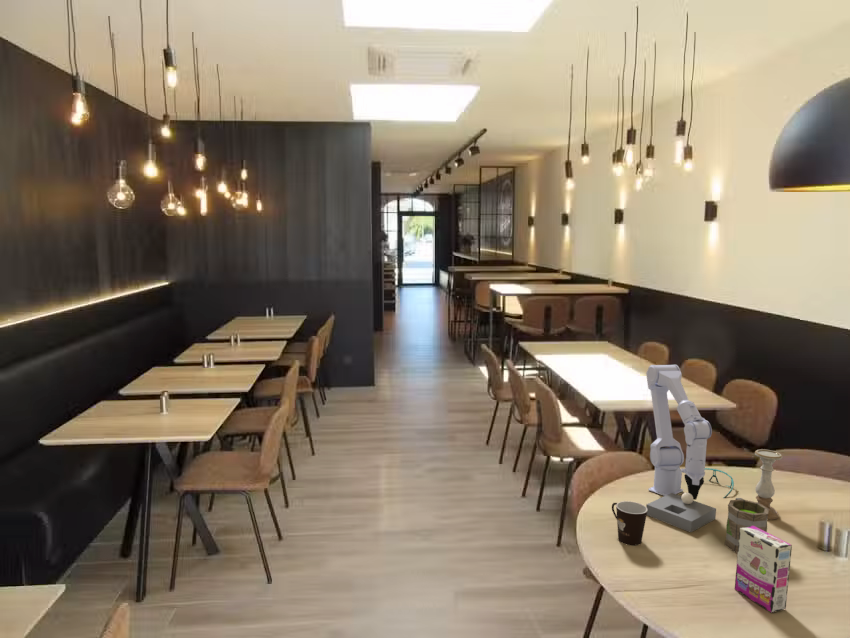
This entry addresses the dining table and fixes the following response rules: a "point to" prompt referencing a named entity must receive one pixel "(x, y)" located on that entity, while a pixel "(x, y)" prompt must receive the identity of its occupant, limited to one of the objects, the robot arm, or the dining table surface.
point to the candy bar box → (763, 568)
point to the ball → (687, 498)
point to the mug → (744, 519)
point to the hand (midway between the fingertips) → (692, 498)
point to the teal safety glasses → (717, 479)
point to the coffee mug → (630, 521)
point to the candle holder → (767, 480)
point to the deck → (681, 512)
